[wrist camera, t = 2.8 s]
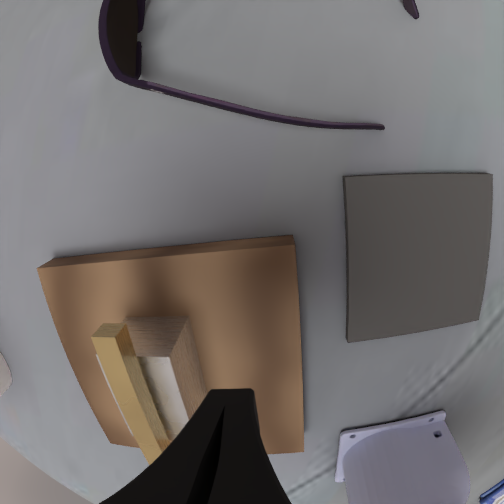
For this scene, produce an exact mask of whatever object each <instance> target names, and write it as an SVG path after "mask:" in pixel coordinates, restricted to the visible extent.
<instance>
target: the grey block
mask: <svg viewBox="0 0 504 504" xmlns="http://www.w3.org/2000/svg"><path fill="white" fill-rule="evenodd" d="M121 323H126V324H127V328H128V331H129V334H130V338H131V341H132V344H133V347H134V350H135V353H136V356H137V359H138V362H139V365H140V368H141V371H142V373H143V376H144V379H145V382H146V384H147V387H148V390H149V392H150V395H151V398H152V400H153V403H154V405H155V408H156V410H157V413H158V415H159V418H160V420H161V423H162V425H163V427H164V430H165V432H166V434H167V437H168V439H169V440H174V439H175V438H176V436H177V435H178V434H179V433H180V431H181V430H182V429H183V427H184V426H185V425H186V424H187V422H188V421H189V420H190V418H191V417H192V416H193V414H194V413H195V411H196V410H197V408H198V407H199V406H200V404H201V403H202V401H203V400H204V398H205V396H206V395H207V390H206V386H205V382H204V378H203V374H202V370H201V366H200V362H199V358H198V353H197V349H196V345H195V340H194V336H193V332H192V327H191V323H190V318H189V316H168V317H128V318H125V319H124V320H123V321H122V322H121ZM96 357H97V359H98V362H99V364H100V367H101V369H102V372H103V374H104V377H105V379H106V381H107V384H108V386H109V388H110V391H111V393H112V395H113V397H114V399H115V402H116V404H117V406H118V408H119V410H120V412H121V414H122V416H123V419H124V421H125V423H126V425H127V427H128V429H129V431H130V433H131V434H132V436H134V435H133V433H132V431H131V429H130V427H129V425H128V423H127V421H126V419H125V417H124V415H123V413H122V411H121V409H120V407H119V405H118V402H117V400H116V398H115V396H114V394H113V391H112V389H111V387H110V384H109V382H108V380H107V377H106V375H105V372H104V370H103V368H102V365H101V362H100V360H99V357H98V355H97V354H96Z"/></svg>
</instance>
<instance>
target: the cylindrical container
mask: <svg viewBox="0 0 504 504" xmlns="http://www.w3.org/2000/svg"><path fill="white" fill-rule="evenodd" d="M11 383H12V376H11V372H10V369H9V367H8V365H7V363H6V361H5V359H4V357H3V356H2V354H1V353H0V397H1V395H2V394H3V393H4V392H5V391H6V390H7V389H8V388H9V387H10V386H11Z"/></svg>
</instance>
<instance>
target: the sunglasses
mask: <svg viewBox="0 0 504 504" xmlns="http://www.w3.org/2000/svg"><path fill="white" fill-rule="evenodd" d="M145 1H146V0H103V3H102V6H101V10H100V16H99V40H100V45H101V49H102V53H103V56H104V59H105V62H106V64H107V66H108V68H109V70H110V71H111V73H112V74H113V75H114V77H115V78H116V79H117V80H119V81H122V82H124V83H126V84H128V85H131V86H134V87H137V88H141V89H146V90H150V91H154V92H158V93H162V94H166V95H170V96H174V97H177V98H181V99H185V100H189V101H193V102H197V103H200V104H204V105H208V106H212V107H216V108H219V109H223V110H227V111H231V112H235V113H239V114H243V115H248V116H252V117H256V118H261V119H265V120H270V121H275V122H280V123H286V124H292V125H299V126H307V127H316V128H330V129H376V130H384V129H385V127H384V125H381V124H371V123H341V122H327V121H319V120H312V119H305V118H299V117H291V116H285V115H279V114H274V113H269V112H265V111H261V110H257V109H253V108H249V107H245V106H241V105H237V104H233V103H229V102H225V101H222V100H218V99H214V98H209V97H205V96H201V95H197V94H192V93H188V92H185V91H181V90H177V89H174V88H171V87H167V86H164V85H160V84H157V83H153V82H148V81H144V80H138V79H139V77H140V75H141V47H142V46H141V42H140V41H139V42H137V34H138V33H139V32H141V31H142V29H143V24H144V12H145ZM403 3H404V7H405V10H406V11H407V12H408V13H409V14H410V15H411V16H412V17H413V18H414V19H417V18H419V13H418V9H417V6H416V3H415V0H403Z"/></svg>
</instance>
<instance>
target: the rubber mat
mask: <svg viewBox="0 0 504 504" xmlns="http://www.w3.org/2000/svg"><path fill="white" fill-rule="evenodd" d="M343 187H344V204H345V225H346V257H347V318H346V339H347V342H348V343H350V342H358V341H366V340H373V339H380V338H386V337H393V336H399V335H405V334H411V333H417V332H422V331H428V330H433V329H438V328H443V327H448V326H453V325H458V324H463V323H467V322H472V321H476V320H479V315H480V310H481V305H482V300H483V294H484V288H485V281H486V274H487V267H488V258H489V249H490V238H491V224H492V201H493V174H488V173H413V174H381V175H359V176H343Z"/></svg>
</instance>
